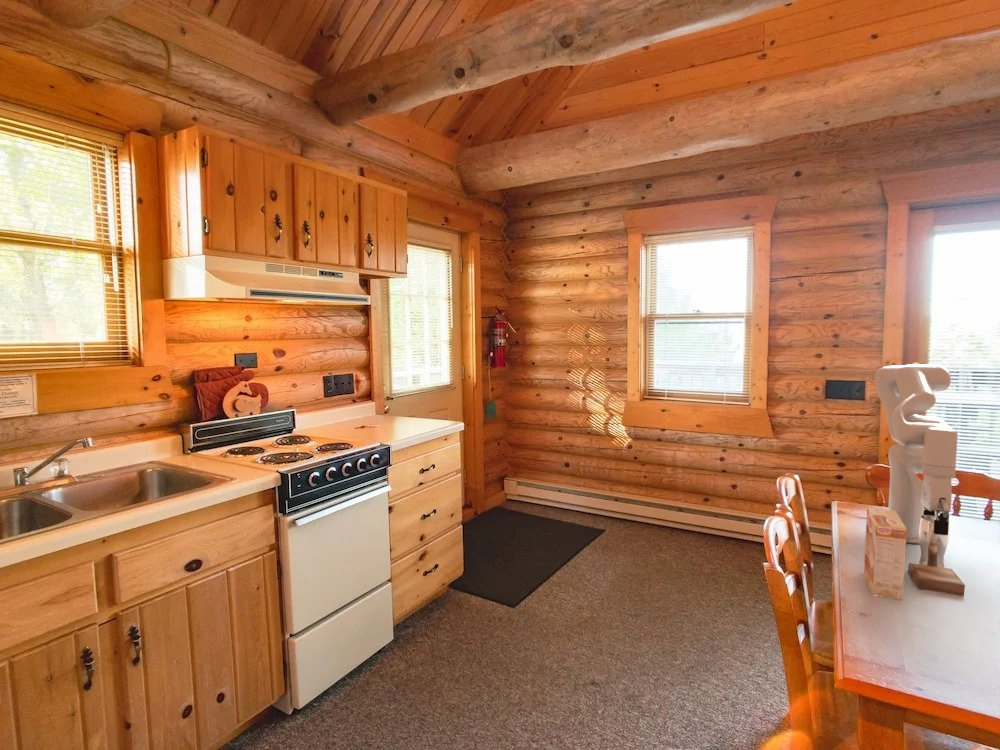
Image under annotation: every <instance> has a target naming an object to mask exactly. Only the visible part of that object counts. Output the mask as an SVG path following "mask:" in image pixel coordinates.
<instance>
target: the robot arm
mask: <svg viewBox="0 0 1000 750" xmlns="http://www.w3.org/2000/svg"><path fill="white" fill-rule="evenodd" d="M951 379H952V377H951V374H950V371H949V369H948V368H947V367H945V366H944V365H941V364H914V363H913V364H905V365H888V366H883V367H880V368H879V369H877V370H876V372H875V375H874V386H875V390H876V394H877V395H878V398H879V399H880V401H881V402H882V405H883V407H884V410H885V416H886V421H887V427H888V431H889V435H890V437H891V439H892V441H895V442H897V443H895V444H893V445H891V446H890V447H889V449H888V454H887V457H888V463H889V464H888V465H889V493H888V509H887V510H894V511H896V513H897V514H898V516H899V518H900V519H901V521H902V522H903V524H904V525H905V527H906V529H907V533H906V544H908V543H909V544H920V542H919V524H920V518H921V516H922V515H934V516H935V518H936V520H934V531H933V532H934V534H939V535H948V527H949V528H950V513H951V508H952V492H953V491H952V480H953V479H955V478H956V467H957V451H958V450H957V449H958V432H957V431H956V429H953V428H952V427H951V425H948V424H947V423H946V421H945V420H944V419H943V418H941V417H939V416H932V415H931V416H929V415H919V414H920V413H921V414H922V413H924V412H927V411H928V410H931V408H933V407H934V405H935V404H936V401H937V400H936V396H935V394H934V392H943V391H946V390H947V389H949V387H950V385H951V382H952V380H951ZM917 474H922V476H923V477H922V479H920V477H919V476H918V475H917Z"/></svg>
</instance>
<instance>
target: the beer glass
mask: <svg viewBox="0 0 1000 750" xmlns="http://www.w3.org/2000/svg"><path fill="white" fill-rule="evenodd" d="M934 520H936V518H935V516H934V515H922V516H921V518H920V524H919V542H920V543H919V549H920V558H919V561H918V564H919V565H927V566H934V567H941V568H945V565H944V564H945V563H944V562H945V561H944V558H945V554H946V551H947V548H948V544H949V540H950V526H949V527H948V535H939V534H934V532H933V531H934Z"/></svg>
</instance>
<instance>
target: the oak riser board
mask: <svg viewBox="0 0 1000 750" xmlns="http://www.w3.org/2000/svg"><path fill="white" fill-rule="evenodd" d="M907 567H908V570H907V574H908V576H909V577H910V579H911V580H912V582H913V583H914V585H915V586H916V588H917V590H923V591H929V592H936V593H937V592H938V593H943V594H950V595H957V596H963V597H964V596H965V589H966V588H965V587H966V584H965V583H964V582H963V580H962V579H961V578H960V577H959V576H958V575H957V573H956V572H955V571H954V570H953V568H948V567H944V568H941V567H934V566H927V565H919V563H911V562H908V566H907Z"/></svg>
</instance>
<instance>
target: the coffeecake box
mask: <svg viewBox="0 0 1000 750" xmlns="http://www.w3.org/2000/svg"><path fill="white" fill-rule="evenodd" d="M865 522H866V524H865V541H864V542H865V543H864V560H863V561H864V562H863V575H864V577H865V580H866V583H867V586H868V588H869V591H870V592H871V595H872V596H874V595H877V596H876V597H879V596H882V597H881V598H886V597H887V599H893V600H899V601H903V594H904V576H905V566H906V565H905V563H906V561H905V560H906V548H907V547H906V546H907V542H906V533H907V529H906V527H905V525H904V524H903V522H902V521H901V519H900V518H899V516H898V514H897V513H896V511H894V510H888V509H884V508H879V507H878V508H877V507H866V521H865Z"/></svg>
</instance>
